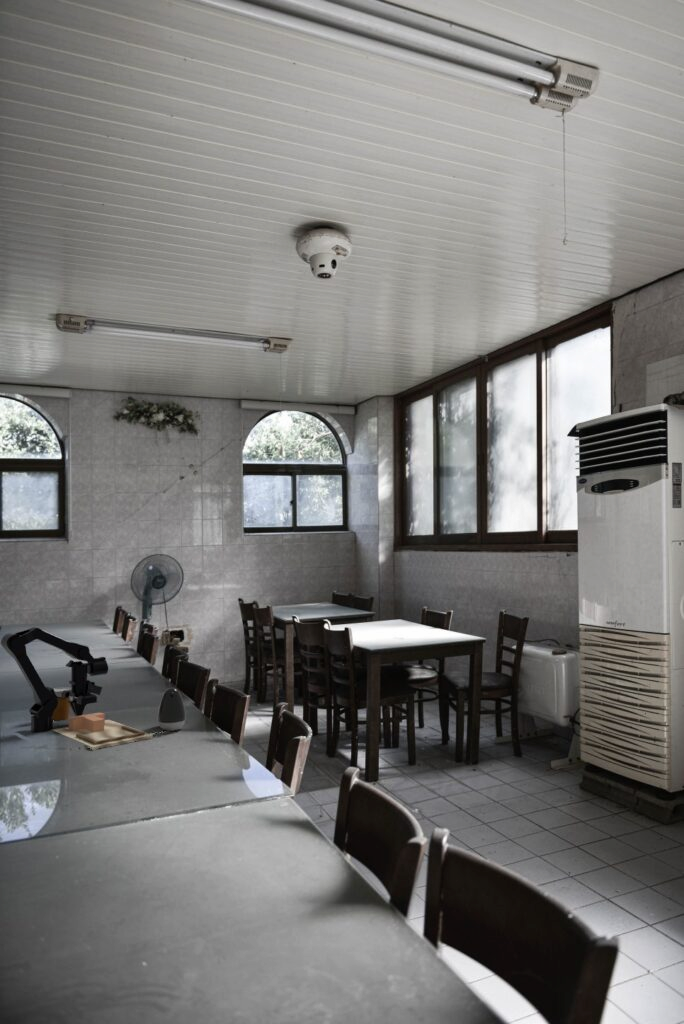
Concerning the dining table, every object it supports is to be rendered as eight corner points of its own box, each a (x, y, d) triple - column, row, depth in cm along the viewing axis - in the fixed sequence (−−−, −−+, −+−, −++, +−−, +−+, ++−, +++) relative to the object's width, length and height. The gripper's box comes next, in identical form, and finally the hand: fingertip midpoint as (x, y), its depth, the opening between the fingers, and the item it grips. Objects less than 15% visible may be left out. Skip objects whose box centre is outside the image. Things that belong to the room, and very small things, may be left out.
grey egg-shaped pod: (157, 733, 260) (157, 691, 261) (157, 727, 270) (157, 686, 271) (186, 731, 263) (186, 689, 264) (185, 725, 273) (185, 684, 274)
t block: (82, 734, 257) (82, 723, 257) (68, 728, 266) (68, 717, 266) (114, 728, 265) (114, 717, 265) (99, 723, 274) (99, 712, 274)
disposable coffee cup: (77, 717, 288) (77, 687, 288) (65, 723, 278) (66, 691, 279) (54, 717, 289) (54, 687, 289) (42, 723, 279) (42, 691, 280)
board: (92, 750, 240) (92, 744, 240) (51, 732, 264) (51, 727, 264) (152, 737, 255) (152, 732, 255) (108, 722, 279) (108, 717, 280)
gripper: (110, 678, 273) (110, 720, 272) (89, 672, 286) (88, 712, 286) (82, 681, 265) (81, 725, 264) (61, 676, 279) (60, 717, 278)
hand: (79, 719), depth 273 cm, fingers closed
